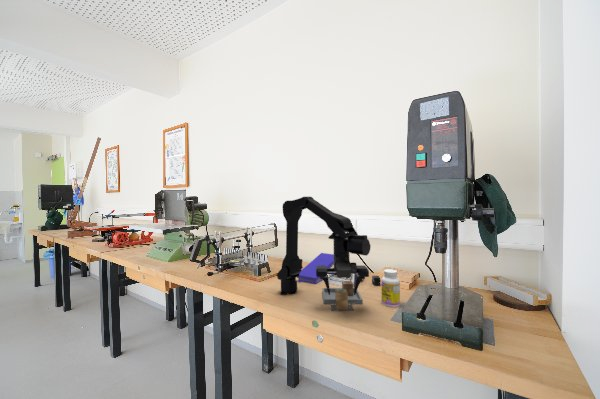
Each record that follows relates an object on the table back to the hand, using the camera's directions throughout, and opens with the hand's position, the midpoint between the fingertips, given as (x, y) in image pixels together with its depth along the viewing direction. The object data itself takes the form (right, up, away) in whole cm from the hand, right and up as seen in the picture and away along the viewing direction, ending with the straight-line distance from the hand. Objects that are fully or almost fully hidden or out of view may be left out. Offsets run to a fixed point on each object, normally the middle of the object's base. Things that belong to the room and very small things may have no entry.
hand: (341, 294), depth 100 cm
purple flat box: (-5, -6, +42) cm, 43 cm away
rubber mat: (0, -5, 0) cm, 5 cm away
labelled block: (0, -5, 0) cm, 5 cm away
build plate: (+20, -6, +26) cm, 34 cm away
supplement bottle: (+19, -5, +4) cm, 20 cm away
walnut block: (+4, -5, +14) cm, 15 cm away
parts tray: (+1, -5, +11) cm, 12 cm away
